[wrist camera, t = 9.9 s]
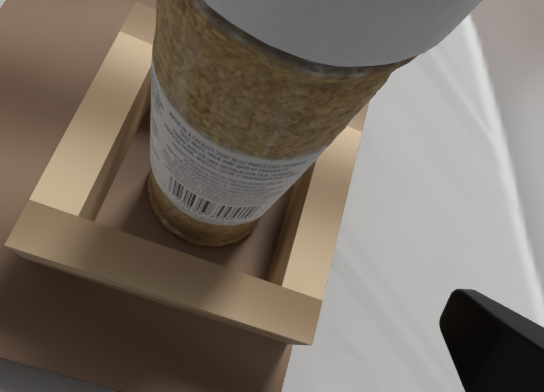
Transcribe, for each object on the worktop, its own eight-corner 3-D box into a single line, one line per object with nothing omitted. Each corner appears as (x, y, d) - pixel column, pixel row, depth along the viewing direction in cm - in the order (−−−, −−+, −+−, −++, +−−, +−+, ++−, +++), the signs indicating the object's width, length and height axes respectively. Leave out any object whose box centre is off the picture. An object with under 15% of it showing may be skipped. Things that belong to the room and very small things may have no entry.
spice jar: (286, 179, 17) (622, -199, 5) (224, 274, 16) (517, 39, 3) (191, 114, 17) (308, -446, 5) (117, 203, 15) (11, -335, 3)
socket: (262, 428, 15) (293, 452, 12) (-178, 302, 13) (-283, 290, 10) (350, 91, 21) (386, 46, 18) (50, -38, 19) (31, -116, 16)
